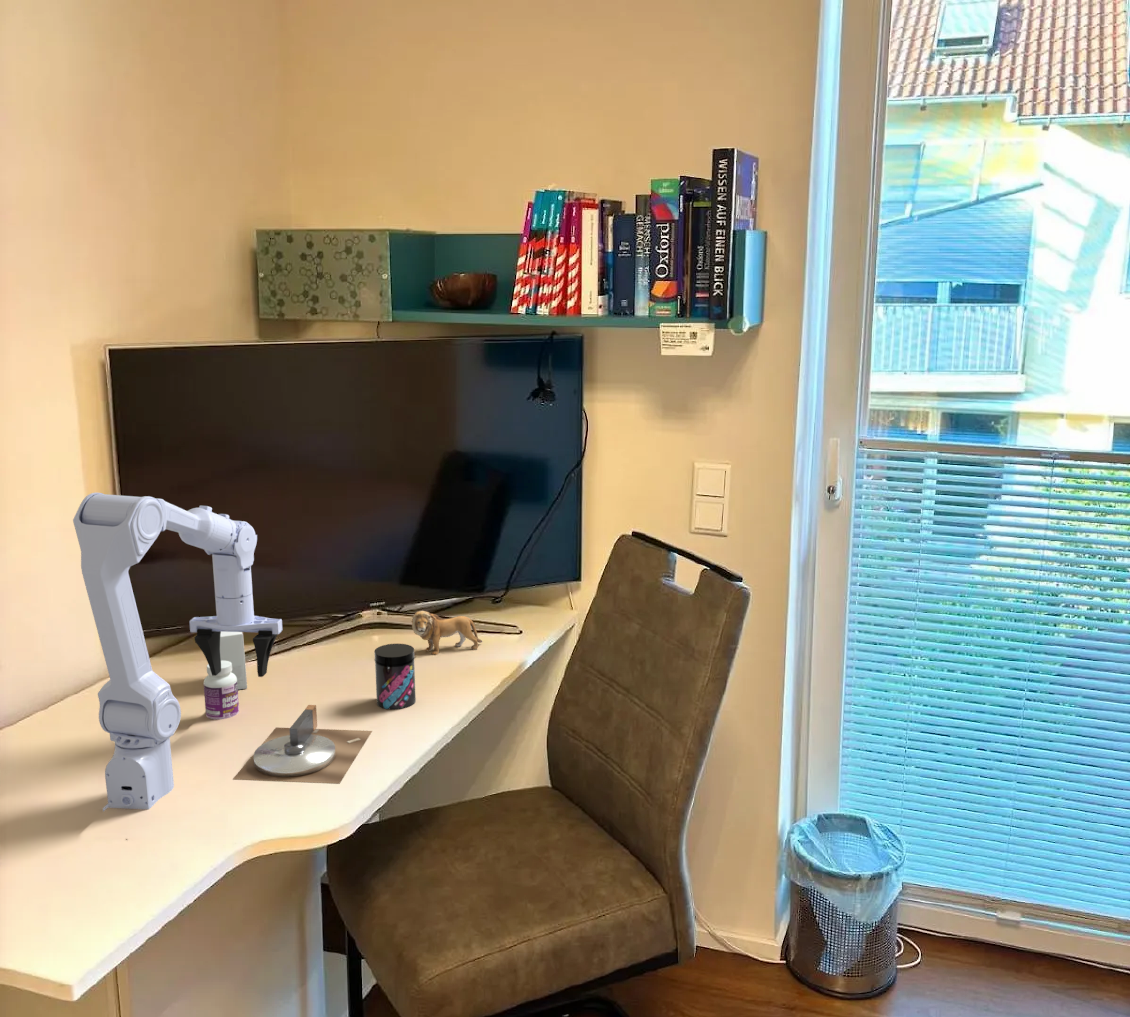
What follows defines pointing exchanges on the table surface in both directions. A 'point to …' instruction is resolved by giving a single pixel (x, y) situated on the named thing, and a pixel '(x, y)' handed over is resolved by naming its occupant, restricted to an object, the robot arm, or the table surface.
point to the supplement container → (395, 676)
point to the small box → (234, 655)
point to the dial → (296, 749)
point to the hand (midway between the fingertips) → (239, 674)
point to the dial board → (345, 754)
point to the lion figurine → (443, 629)
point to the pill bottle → (221, 693)
